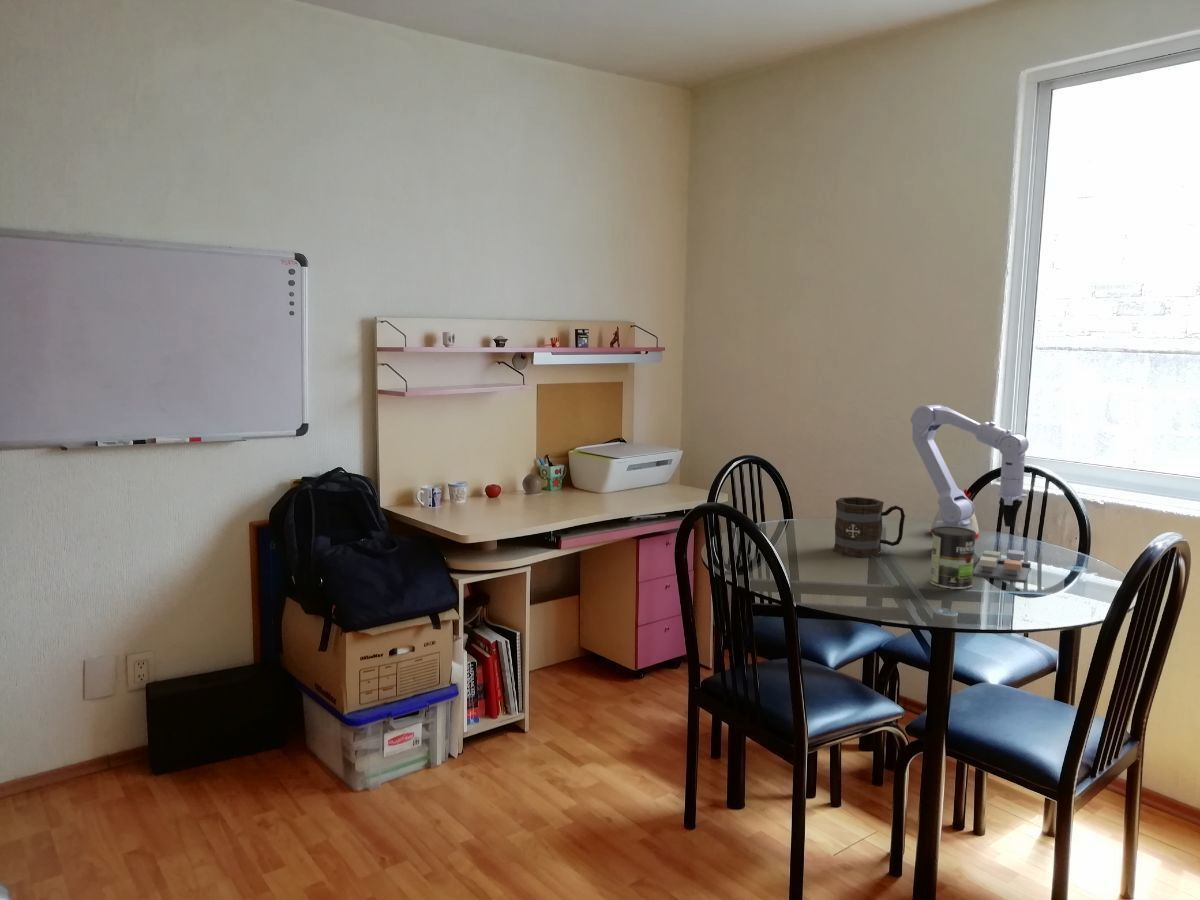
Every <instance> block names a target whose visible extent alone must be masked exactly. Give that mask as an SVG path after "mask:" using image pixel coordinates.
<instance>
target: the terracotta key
mask: <svg viewBox="0 0 1200 900" xmlns="http://www.w3.org/2000/svg"><path fill="white" fill-rule="evenodd" d="M1005 559H1006V560H1005V562H1004V569H1007V574H1010V575H1017V574H1018V570H1019V571H1020V570H1021V568H1022V562H1023V561H1022V560H1021V561H1017V560H1010V559H1007V558H1005Z"/></svg>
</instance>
